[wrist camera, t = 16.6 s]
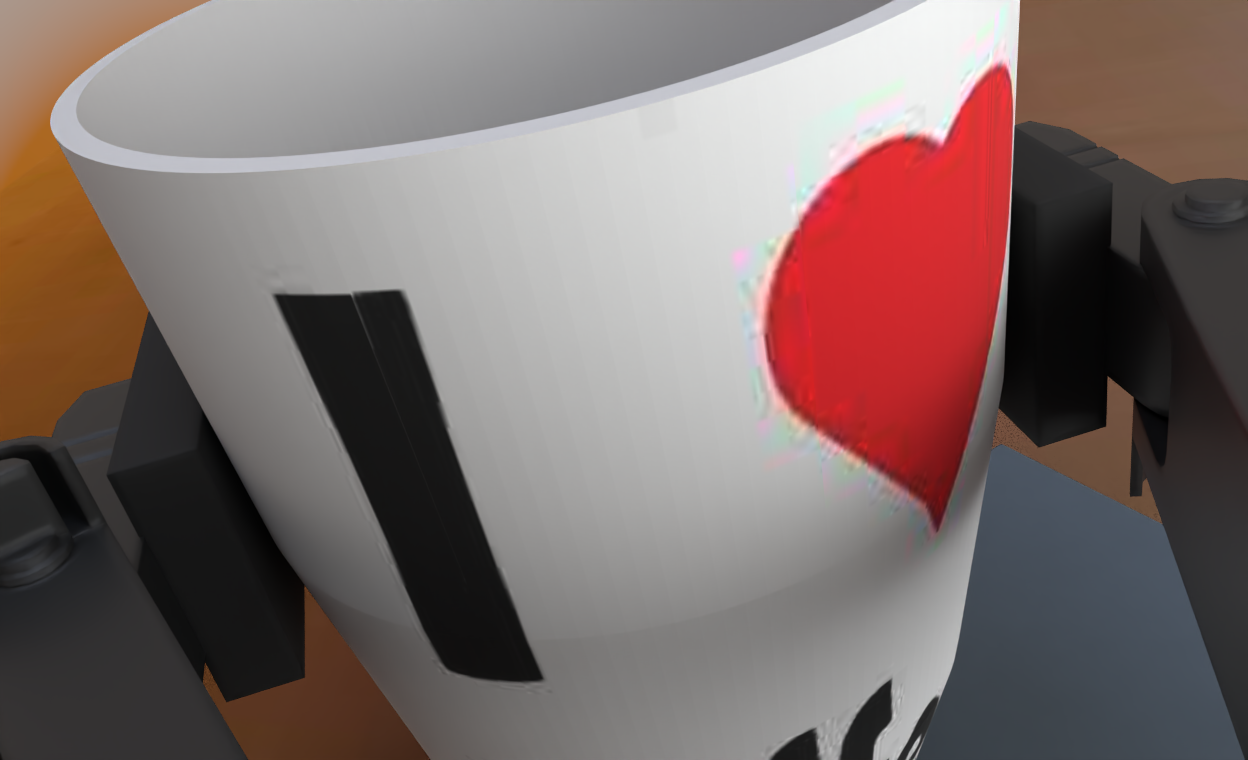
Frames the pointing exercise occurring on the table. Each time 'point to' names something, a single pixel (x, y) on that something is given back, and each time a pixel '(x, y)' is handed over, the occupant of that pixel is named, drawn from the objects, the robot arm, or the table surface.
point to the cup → (591, 343)
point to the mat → (1075, 635)
